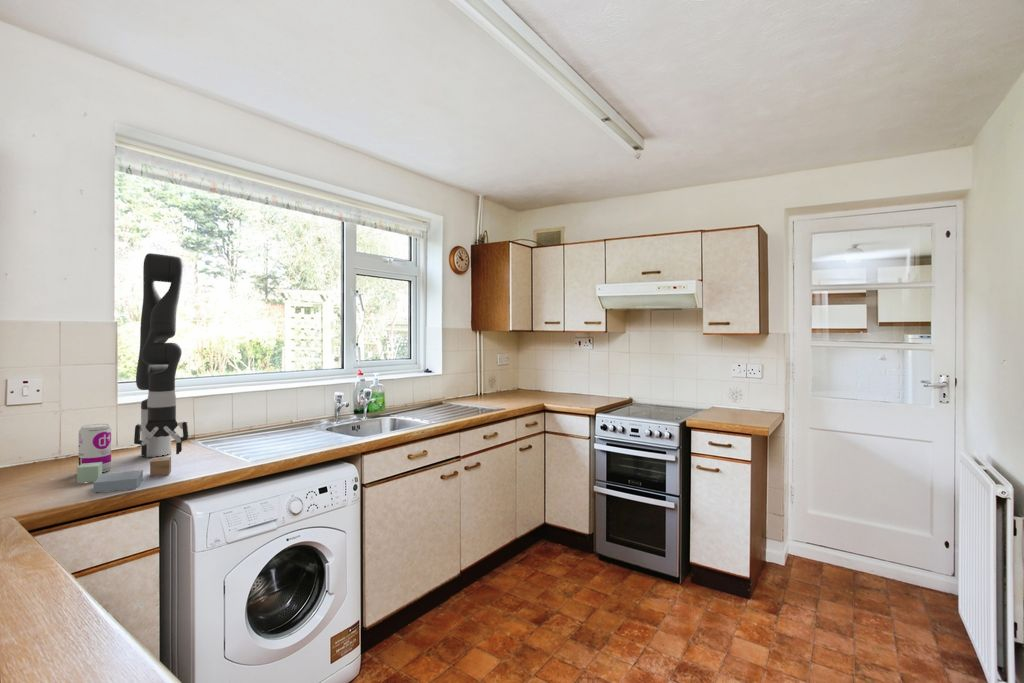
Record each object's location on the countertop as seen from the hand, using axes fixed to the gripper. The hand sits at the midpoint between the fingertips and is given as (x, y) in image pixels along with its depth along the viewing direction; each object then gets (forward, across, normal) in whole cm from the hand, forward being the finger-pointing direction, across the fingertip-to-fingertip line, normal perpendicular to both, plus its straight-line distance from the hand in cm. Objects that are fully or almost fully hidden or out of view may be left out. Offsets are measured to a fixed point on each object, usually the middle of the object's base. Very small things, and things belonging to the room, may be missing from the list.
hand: (161, 455), depth 165 cm
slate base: (+6, +9, +9) cm, 15 cm away
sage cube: (+6, +18, -1) cm, 19 cm away
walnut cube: (+6, 0, 0) cm, 6 cm away
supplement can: (+6, +19, -12) cm, 23 cm away
